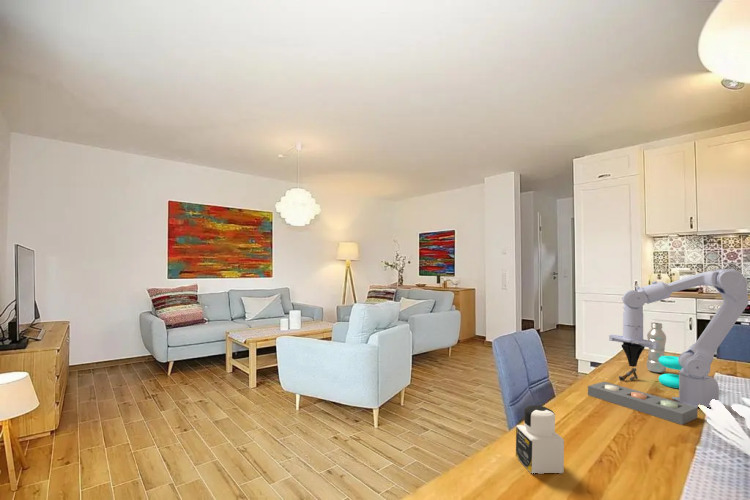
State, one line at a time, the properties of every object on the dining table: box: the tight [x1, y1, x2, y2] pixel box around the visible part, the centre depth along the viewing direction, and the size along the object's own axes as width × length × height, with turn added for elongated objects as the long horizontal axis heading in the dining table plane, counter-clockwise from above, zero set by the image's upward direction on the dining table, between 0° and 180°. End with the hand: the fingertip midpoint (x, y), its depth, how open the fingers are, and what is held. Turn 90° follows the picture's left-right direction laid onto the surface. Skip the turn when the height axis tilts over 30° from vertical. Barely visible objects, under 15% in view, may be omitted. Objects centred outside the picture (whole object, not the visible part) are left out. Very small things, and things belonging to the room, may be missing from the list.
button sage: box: [661, 400, 678, 409], centre depth 112 cm, size 4×4×3 cm
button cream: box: [605, 385, 619, 392], centre depth 125 cm, size 4×4×3 cm
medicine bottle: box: [515, 405, 565, 475], centre depth 82 cm, size 7×7×12 cm
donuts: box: [658, 355, 682, 390], centre depth 140 cm, size 10×10×10 cm
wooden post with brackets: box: [618, 367, 639, 382], centre depth 145 cm, size 2×8×4 cm, turn 108°
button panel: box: [587, 381, 699, 426], centre depth 118 cm, size 26×10×3 cm, turn 31°
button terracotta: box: [631, 392, 647, 400], centre depth 118 cm, size 4×4×3 cm
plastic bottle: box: [646, 322, 667, 374], centre depth 157 cm, size 6×7×20 cm
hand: (632, 366), depth 129 cm, fingers closed
